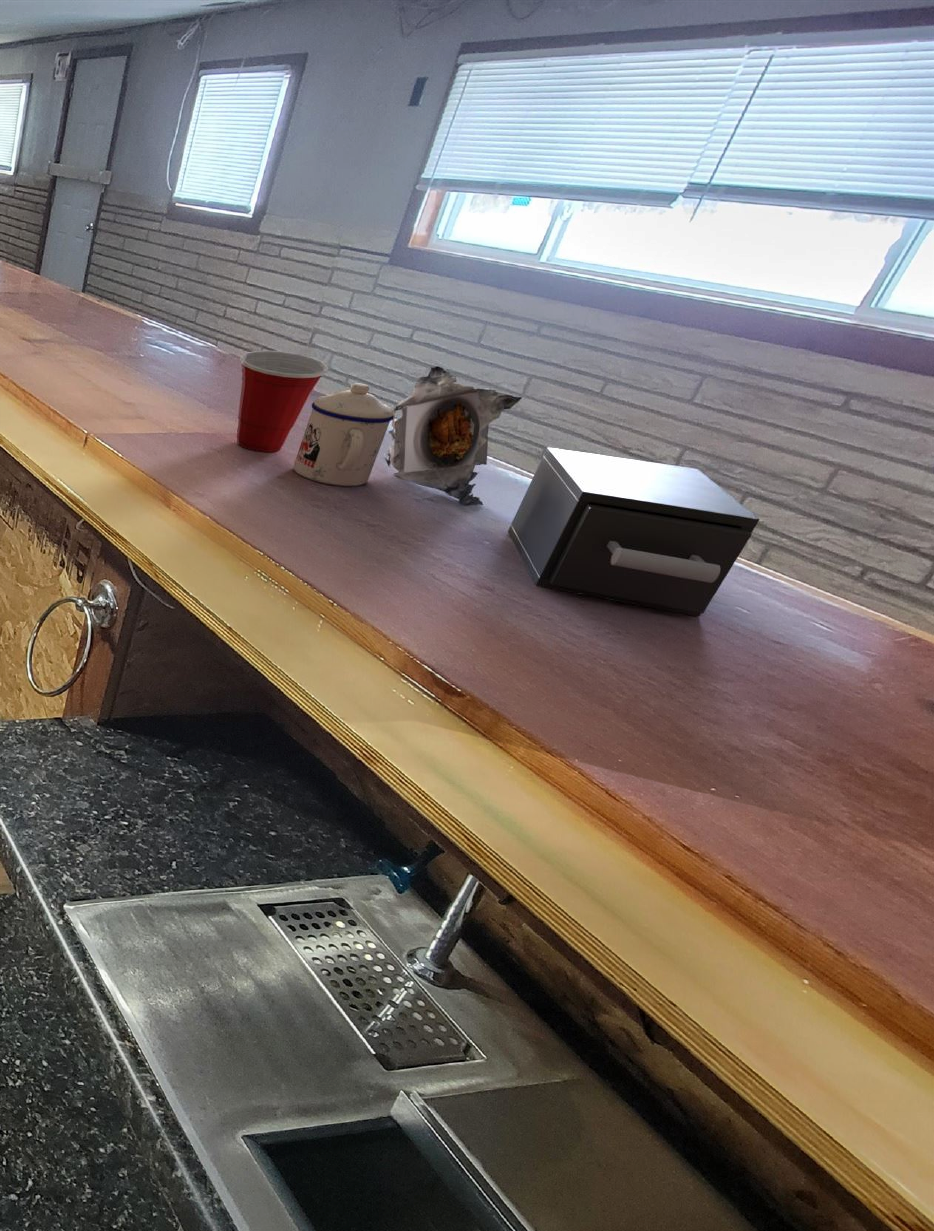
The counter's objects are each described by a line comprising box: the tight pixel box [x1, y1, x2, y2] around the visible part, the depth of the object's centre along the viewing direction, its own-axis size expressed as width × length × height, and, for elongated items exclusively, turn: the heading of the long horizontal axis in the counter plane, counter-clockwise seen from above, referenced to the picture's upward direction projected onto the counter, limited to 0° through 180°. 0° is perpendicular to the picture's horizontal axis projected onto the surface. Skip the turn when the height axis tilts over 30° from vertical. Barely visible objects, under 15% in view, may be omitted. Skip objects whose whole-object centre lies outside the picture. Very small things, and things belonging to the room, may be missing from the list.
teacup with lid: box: [293, 382, 395, 487], centre depth 111 cm, size 12×9×12 cm
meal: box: [383, 365, 523, 506], centre depth 111 cm, size 15×4×13 cm, turn 8°
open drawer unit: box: [549, 502, 753, 614], centre depth 86 cm, size 19×12×8 cm, turn 154°
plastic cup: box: [236, 350, 329, 453], centre depth 122 cm, size 11×11×12 cm
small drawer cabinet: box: [507, 446, 760, 618], centre depth 90 cm, size 16×13×10 cm
